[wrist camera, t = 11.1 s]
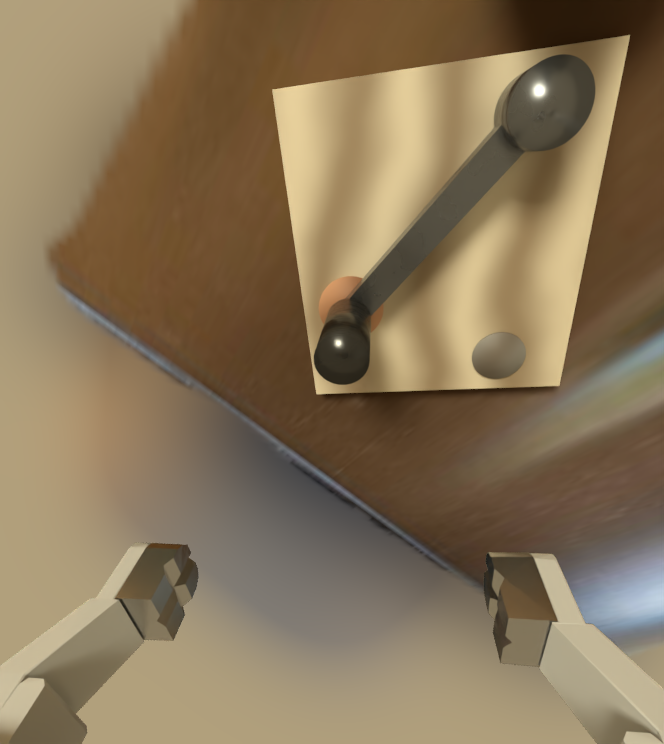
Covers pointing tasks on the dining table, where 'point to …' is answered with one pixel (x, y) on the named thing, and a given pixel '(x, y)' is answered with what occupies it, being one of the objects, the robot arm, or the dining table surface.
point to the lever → (460, 200)
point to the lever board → (466, 240)
